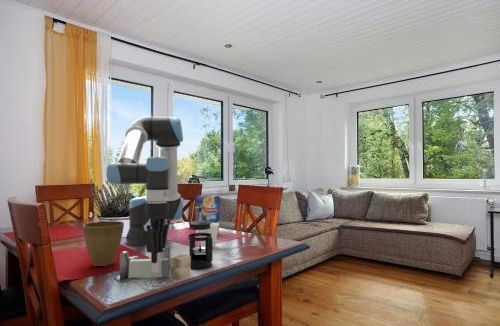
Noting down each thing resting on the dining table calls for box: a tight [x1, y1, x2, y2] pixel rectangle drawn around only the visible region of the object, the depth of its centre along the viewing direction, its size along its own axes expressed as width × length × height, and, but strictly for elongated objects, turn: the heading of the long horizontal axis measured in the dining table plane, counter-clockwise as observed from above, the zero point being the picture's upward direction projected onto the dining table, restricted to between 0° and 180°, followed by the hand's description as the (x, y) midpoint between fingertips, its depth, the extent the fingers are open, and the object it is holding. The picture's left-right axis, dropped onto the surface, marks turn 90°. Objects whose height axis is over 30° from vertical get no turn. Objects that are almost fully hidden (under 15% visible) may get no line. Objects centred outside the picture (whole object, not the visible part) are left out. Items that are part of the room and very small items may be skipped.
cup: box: [201, 223, 220, 249], centre depth 149 cm, size 10×10×11 cm
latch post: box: [162, 245, 171, 270], centre depth 119 cm, size 4×4×8 cm
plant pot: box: [82, 220, 125, 267], centre depth 124 cm, size 15×15×16 cm
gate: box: [129, 257, 170, 278], centre depth 108 cm, size 13×3×6 cm, turn 95°
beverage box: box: [195, 194, 220, 236], centre depth 176 cm, size 7×11×22 cm, turn 133°
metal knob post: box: [113, 250, 140, 283], centre depth 109 cm, size 8×6×9 cm
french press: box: [188, 207, 213, 271], centre depth 121 cm, size 12×9×23 cm
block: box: [169, 253, 192, 281], centre depth 110 cm, size 5×5×7 cm
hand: (156, 271), depth 106 cm, fingers closed
